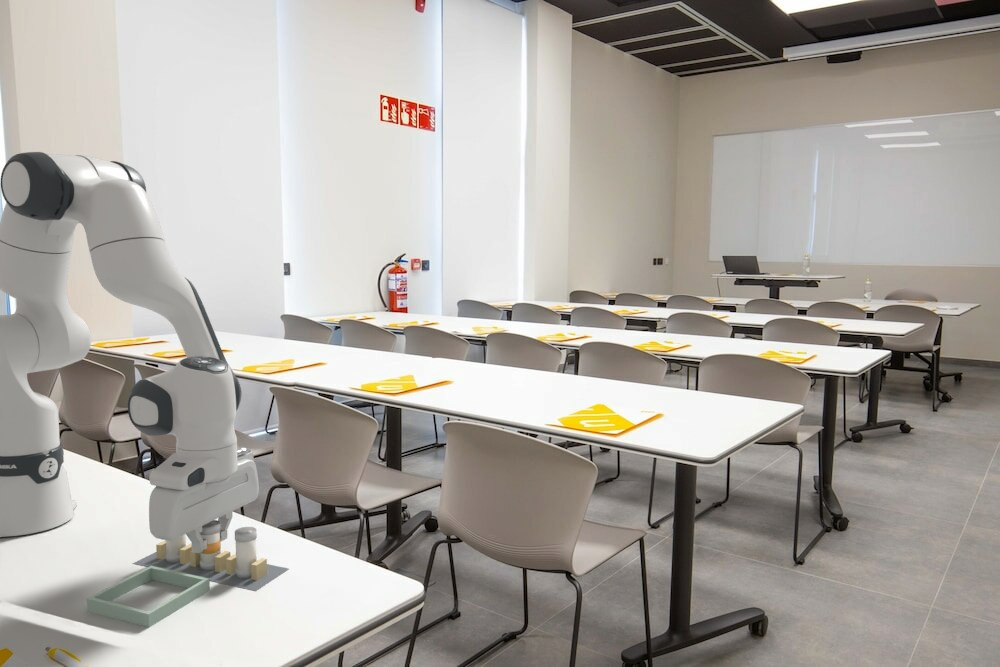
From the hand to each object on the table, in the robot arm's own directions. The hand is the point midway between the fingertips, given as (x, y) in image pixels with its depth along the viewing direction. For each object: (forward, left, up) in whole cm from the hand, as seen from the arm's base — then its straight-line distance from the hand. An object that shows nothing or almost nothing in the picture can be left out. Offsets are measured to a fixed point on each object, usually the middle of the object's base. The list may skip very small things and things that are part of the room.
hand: (210, 545), depth 114 cm
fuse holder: (0, 0, -5) cm, 5 cm away
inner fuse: (-7, 0, -3) cm, 8 cm away
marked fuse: (0, 0, -3) cm, 3 cm away
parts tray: (0, -12, -5) cm, 13 cm away
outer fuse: (+7, 0, -3) cm, 8 cm away
